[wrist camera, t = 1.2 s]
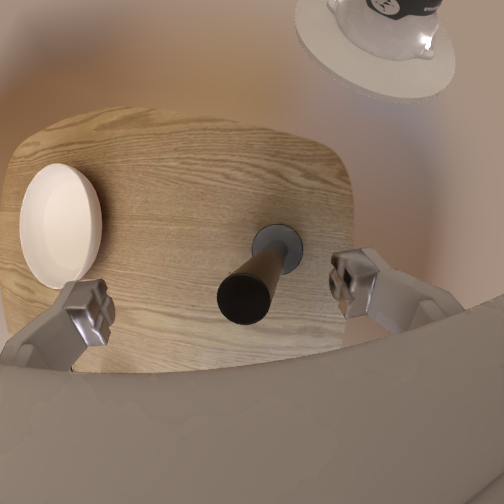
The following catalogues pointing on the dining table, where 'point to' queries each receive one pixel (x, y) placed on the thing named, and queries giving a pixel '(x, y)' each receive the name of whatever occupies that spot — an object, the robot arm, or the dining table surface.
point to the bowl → (60, 225)
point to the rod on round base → (260, 275)
